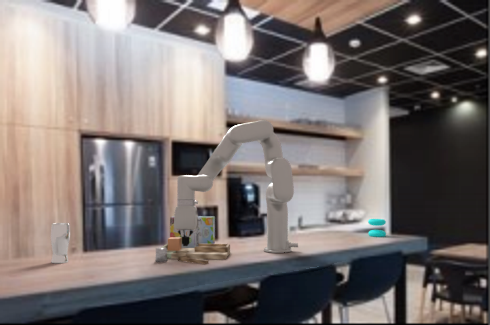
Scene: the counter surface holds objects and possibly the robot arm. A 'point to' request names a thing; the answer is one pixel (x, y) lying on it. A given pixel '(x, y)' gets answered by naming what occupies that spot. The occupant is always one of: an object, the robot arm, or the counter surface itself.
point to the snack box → (202, 236)
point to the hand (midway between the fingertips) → (185, 245)
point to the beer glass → (60, 242)
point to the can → (161, 254)
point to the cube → (175, 243)
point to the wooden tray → (201, 251)
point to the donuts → (377, 223)
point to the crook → (192, 260)
